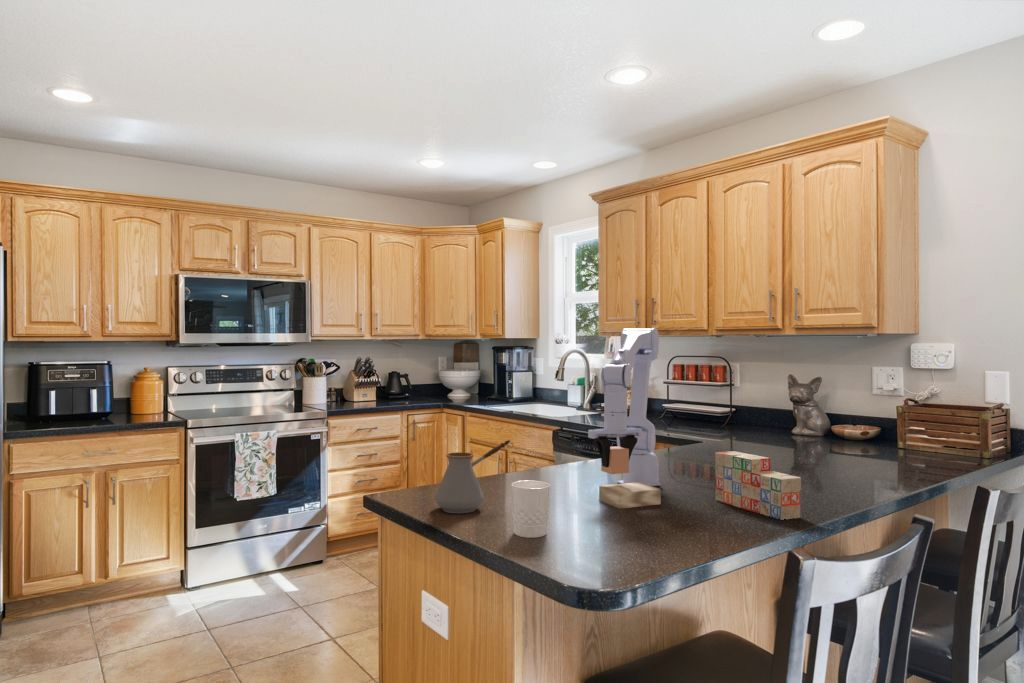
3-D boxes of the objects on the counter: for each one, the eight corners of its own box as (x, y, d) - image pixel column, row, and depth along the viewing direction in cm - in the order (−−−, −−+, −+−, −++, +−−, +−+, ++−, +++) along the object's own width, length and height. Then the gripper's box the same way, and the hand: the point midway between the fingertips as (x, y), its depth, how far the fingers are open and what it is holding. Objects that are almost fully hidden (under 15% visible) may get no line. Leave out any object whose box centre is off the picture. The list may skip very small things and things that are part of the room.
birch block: (639, 497, 165) (639, 482, 165) (660, 505, 157) (660, 489, 157) (599, 501, 160) (599, 485, 160) (619, 510, 152) (619, 493, 152)
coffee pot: (452, 518, 142) (453, 450, 142) (425, 508, 150) (425, 444, 151) (525, 504, 155) (526, 442, 155) (496, 495, 164) (497, 437, 164)
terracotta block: (618, 469, 164) (618, 446, 165) (628, 472, 160) (628, 448, 160) (601, 470, 163) (601, 447, 163) (611, 474, 158) (611, 449, 158)
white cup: (520, 540, 126) (520, 489, 126) (504, 530, 133) (505, 482, 133) (556, 536, 129) (556, 486, 129) (539, 526, 136) (539, 479, 136)
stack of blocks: (801, 518, 145) (801, 464, 145) (780, 521, 142) (781, 465, 143) (733, 498, 164) (734, 450, 165) (714, 500, 162) (714, 451, 162)
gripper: (598, 414, 155) (597, 470, 155) (649, 412, 160) (648, 466, 160) (584, 411, 162) (583, 465, 161) (633, 410, 167) (633, 462, 167)
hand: (615, 465), depth 161 cm, fingers closed on terracotta block, 5 cm apart
